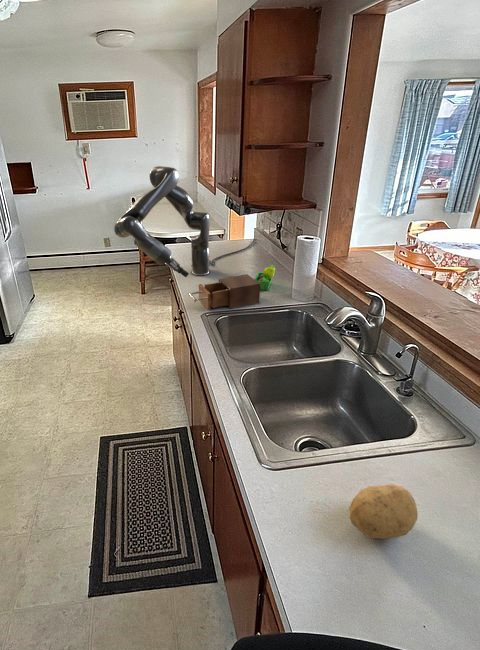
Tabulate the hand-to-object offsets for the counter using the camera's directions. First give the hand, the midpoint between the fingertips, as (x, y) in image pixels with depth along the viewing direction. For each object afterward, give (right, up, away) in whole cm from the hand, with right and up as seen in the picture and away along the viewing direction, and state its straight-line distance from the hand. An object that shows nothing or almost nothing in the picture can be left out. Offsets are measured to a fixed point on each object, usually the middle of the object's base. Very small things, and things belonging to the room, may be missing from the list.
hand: (186, 275), depth 167 cm
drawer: (+11, -12, +9) cm, 19 cm away
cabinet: (+24, -11, +13) cm, 30 cm away
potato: (+36, -56, -87) cm, 110 cm away
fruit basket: (+39, -5, +26) cm, 48 cm away
